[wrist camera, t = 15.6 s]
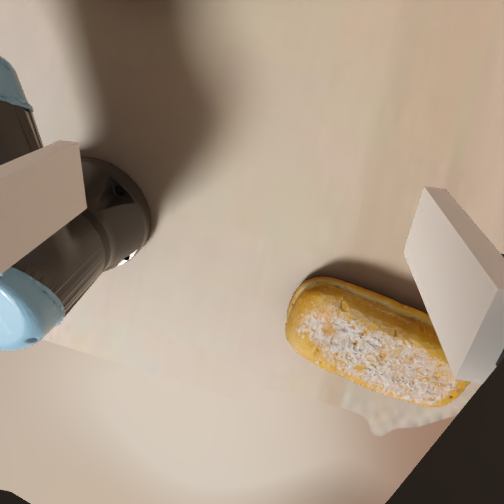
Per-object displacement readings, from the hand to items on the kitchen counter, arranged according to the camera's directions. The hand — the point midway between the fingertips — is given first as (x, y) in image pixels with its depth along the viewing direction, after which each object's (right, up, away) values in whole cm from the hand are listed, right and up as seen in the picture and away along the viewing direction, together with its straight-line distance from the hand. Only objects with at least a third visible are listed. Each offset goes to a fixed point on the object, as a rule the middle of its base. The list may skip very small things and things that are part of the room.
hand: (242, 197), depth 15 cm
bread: (+18, -13, +43) cm, 48 cm away
